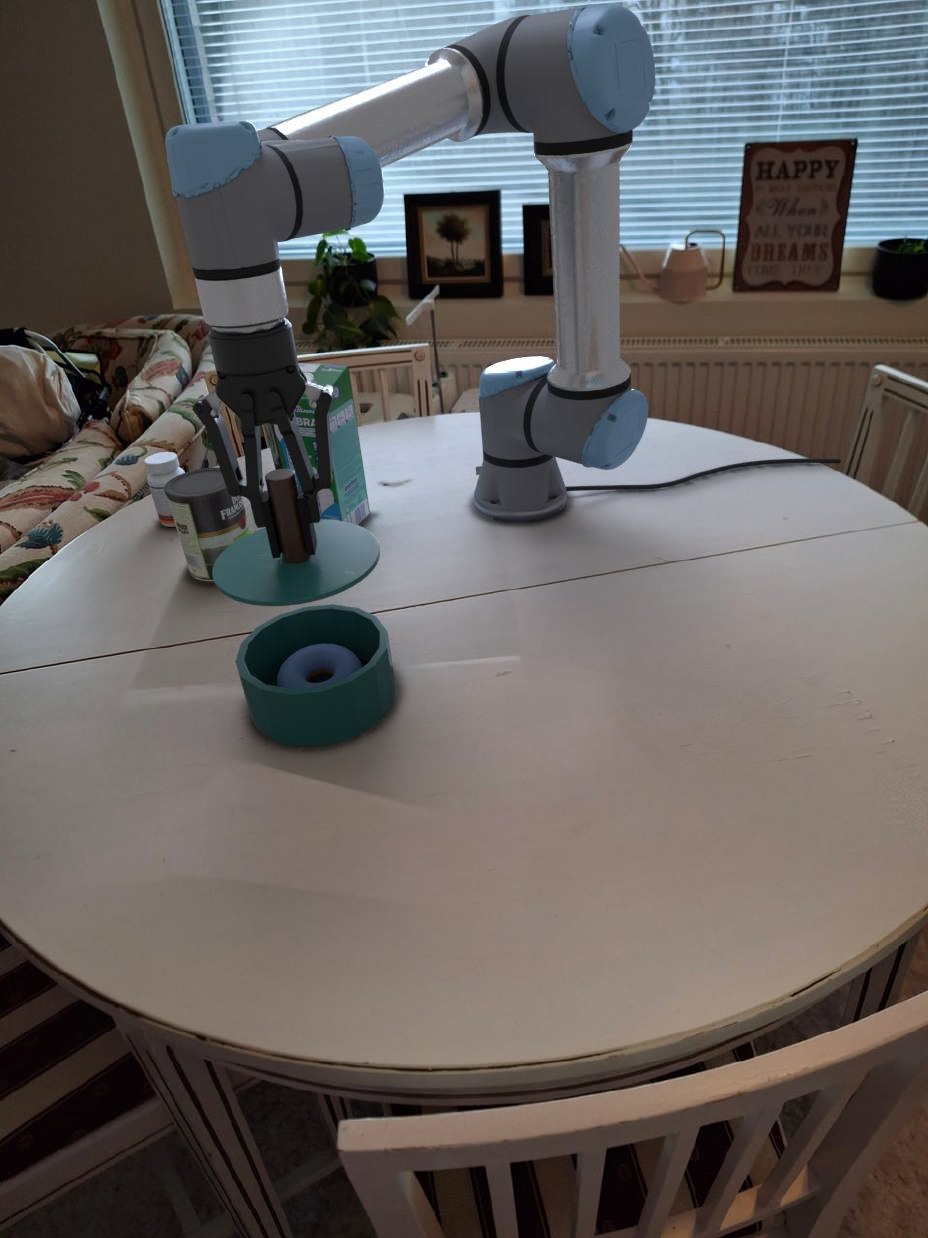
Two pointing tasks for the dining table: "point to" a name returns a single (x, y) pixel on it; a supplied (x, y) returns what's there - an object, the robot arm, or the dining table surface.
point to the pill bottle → (162, 482)
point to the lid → (294, 555)
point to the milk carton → (333, 445)
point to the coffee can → (205, 518)
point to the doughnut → (317, 666)
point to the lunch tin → (327, 707)
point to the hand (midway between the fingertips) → (295, 549)
